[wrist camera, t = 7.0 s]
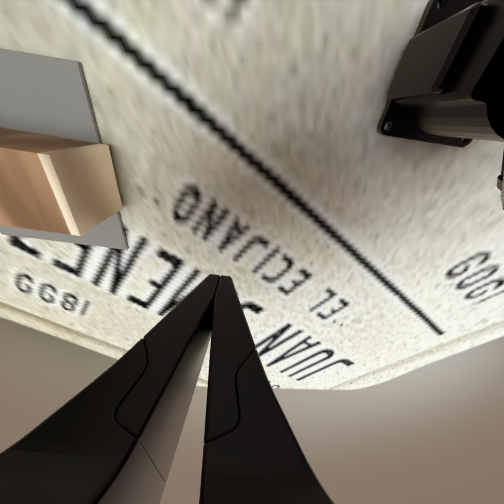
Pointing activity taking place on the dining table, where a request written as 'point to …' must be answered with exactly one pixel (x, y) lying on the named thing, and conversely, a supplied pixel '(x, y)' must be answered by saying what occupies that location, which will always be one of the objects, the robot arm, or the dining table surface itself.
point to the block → (55, 183)
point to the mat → (52, 124)
